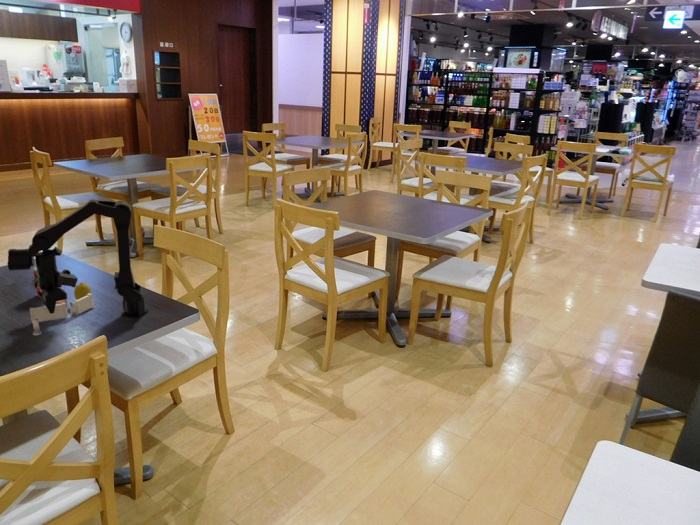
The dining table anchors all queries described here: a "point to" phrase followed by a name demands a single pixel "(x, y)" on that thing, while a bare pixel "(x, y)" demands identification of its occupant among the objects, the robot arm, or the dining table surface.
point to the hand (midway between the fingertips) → (52, 313)
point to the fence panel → (84, 303)
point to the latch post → (36, 327)
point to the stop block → (62, 302)
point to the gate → (44, 314)
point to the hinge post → (72, 309)
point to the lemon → (81, 290)
